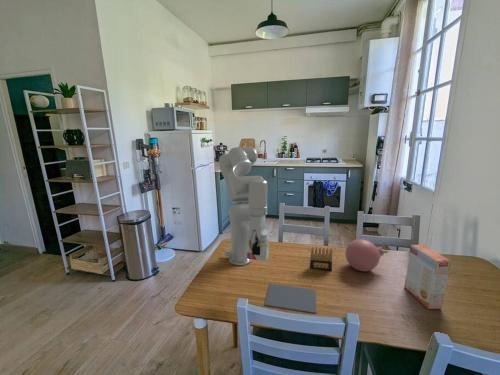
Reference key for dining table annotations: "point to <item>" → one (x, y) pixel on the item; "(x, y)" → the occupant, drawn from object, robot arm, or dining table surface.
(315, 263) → the ammunition clip
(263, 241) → the ink box
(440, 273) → the cracker box
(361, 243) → the pink balloon
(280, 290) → the mat
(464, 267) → the dining table surface
